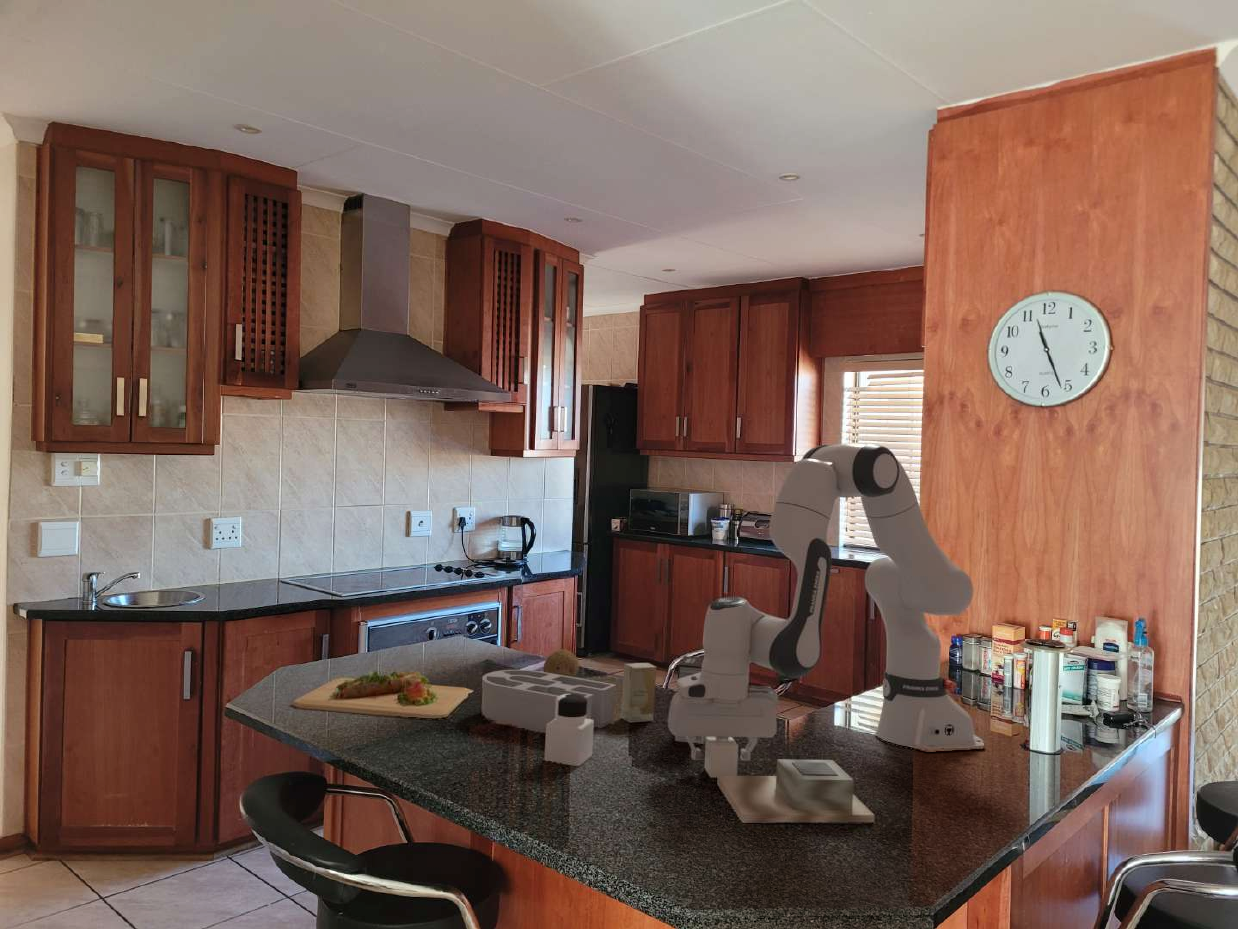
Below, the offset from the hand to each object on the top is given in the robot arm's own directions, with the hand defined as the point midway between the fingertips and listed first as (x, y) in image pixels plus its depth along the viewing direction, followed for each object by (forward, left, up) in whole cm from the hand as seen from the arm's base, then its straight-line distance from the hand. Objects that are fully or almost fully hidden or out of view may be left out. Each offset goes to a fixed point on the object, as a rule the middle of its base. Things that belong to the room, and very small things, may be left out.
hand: (720, 759), depth 169 cm
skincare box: (+11, -34, -3) cm, 36 cm away
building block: (0, 0, -3) cm, 3 cm away
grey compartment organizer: (+32, -32, -3) cm, 46 cm away
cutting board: (+67, -47, -3) cm, 82 cm away
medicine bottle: (+28, -7, -3) cm, 29 cm away
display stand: (-9, +15, -3) cm, 18 cm away
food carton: (+1, -22, -3) cm, 22 cm away
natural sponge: (+27, -59, -3) cm, 65 cm away
